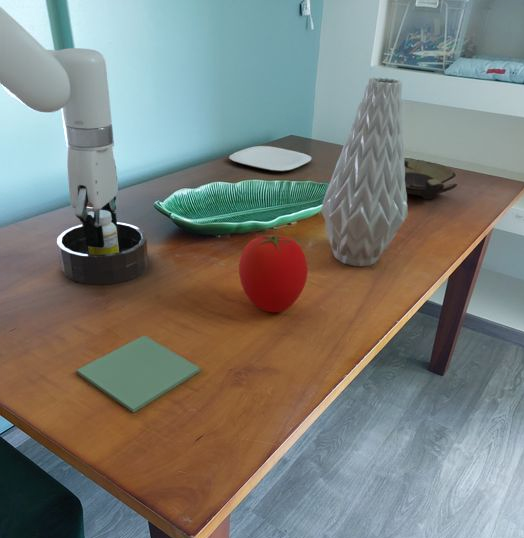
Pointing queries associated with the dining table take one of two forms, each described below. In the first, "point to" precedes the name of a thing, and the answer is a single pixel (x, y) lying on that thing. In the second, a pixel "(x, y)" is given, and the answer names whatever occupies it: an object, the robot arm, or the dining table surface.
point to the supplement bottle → (106, 235)
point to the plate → (270, 158)
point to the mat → (138, 372)
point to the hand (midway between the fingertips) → (102, 238)
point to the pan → (103, 257)
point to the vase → (369, 179)
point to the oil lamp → (426, 178)
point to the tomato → (273, 272)
